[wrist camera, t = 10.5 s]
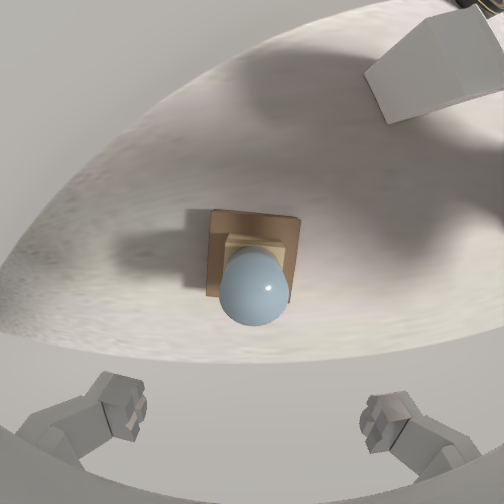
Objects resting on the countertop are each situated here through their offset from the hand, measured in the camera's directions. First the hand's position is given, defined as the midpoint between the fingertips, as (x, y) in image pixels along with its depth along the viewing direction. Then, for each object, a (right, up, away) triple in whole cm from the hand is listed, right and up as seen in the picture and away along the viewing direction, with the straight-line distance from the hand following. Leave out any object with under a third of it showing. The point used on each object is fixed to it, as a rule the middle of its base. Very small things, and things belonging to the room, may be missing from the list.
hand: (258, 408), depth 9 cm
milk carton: (+18, +25, +19) cm, 36 cm away
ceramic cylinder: (0, +4, +16) cm, 16 cm away
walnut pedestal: (0, +5, +23) cm, 24 cm away
